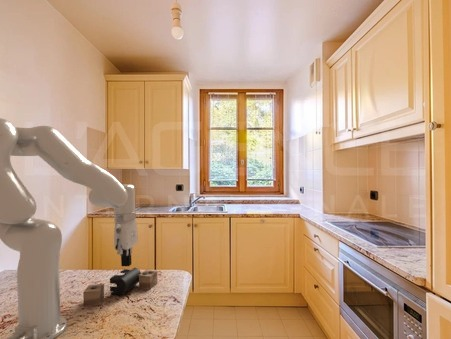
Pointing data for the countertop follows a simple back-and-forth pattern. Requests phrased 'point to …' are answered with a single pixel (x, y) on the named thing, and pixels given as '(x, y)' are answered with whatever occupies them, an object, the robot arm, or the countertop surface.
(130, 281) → the black arched block
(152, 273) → the marked block
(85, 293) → the marked block
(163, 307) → the countertop surface
